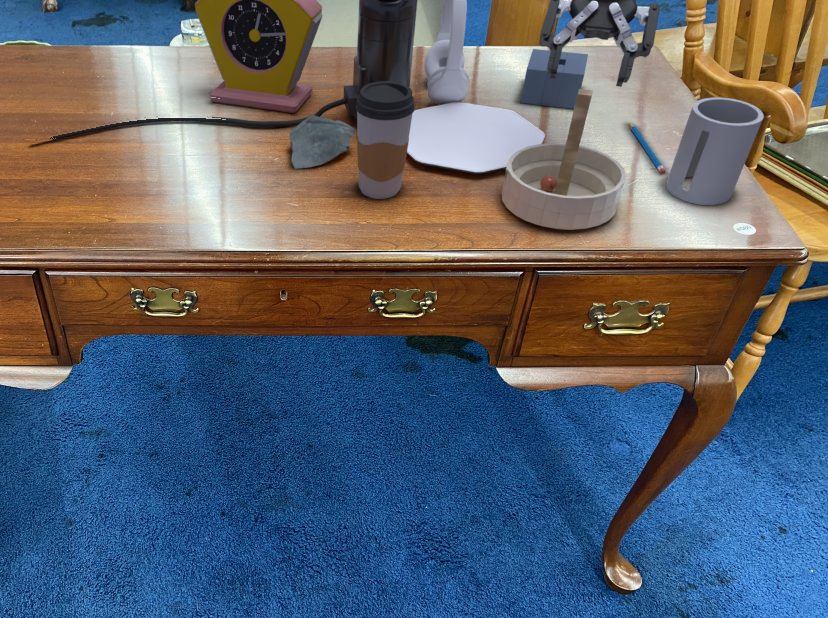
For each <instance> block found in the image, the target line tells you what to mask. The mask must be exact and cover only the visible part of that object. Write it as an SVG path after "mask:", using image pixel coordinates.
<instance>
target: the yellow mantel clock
mask: <svg viewBox="0 0 828 618" xmlns="http://www.w3.org/2000/svg"><path fill="white" fill-rule="evenodd" d="M194 8H195V10H194V11H195V13H196V16H197V18H198V20H199V23H200V26H201V29H202V31H203V33H204V36H205V38H206V41H207V43H208V45H209V48H210V51H211V53H212V56H213V58H214V60H215V64H216V66H217V68H218V71H219V74H220V77H221V79H222V80H223V81H222V82H221V83H219V85H218V86H217V87H216V88H214V89H213V91H212V92H211V93H209V98H210V101H211V102H212V103H216V104H217V103H218V104H225V105H232V106H239V107H247V108H252V109H253V108H255V109H261V110H268V111H273V112H274V111H275V112H283V113H290V114H296V113H297V111H298V110H299V109H300V108H301V107H302V105H303V104H304V103H305V102H306V101H307V99H308V98H310V96H311V95H312V93H313V86H312V85H310V84H305V83H299V81H300V79H301V77H302V74H303V72H304V68H305V66H306V63H307V60H308V57H309V54H310V52H311V50H312V46H313V44H314V41H315V38H316V35H317V33H318V30H319V27H320V24H321V22H322V19H323V16H324V15H323V12H322V11H323V6H322V4H321V3H320V2H319V1H318V0H197V1H196V2H194ZM210 96H211V97H216V98H211V97H210ZM218 98H220V99H218Z"/></svg>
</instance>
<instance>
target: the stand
mask: <svg viewBox="0 0 828 618" xmlns="http://www.w3.org/2000/svg"><path fill="white" fill-rule="evenodd" d="M550 52H551V50H550V49H549V50H548V49H538V48H537V49H535V48H532V51H531V54H530V57H529V61H528V63H527V67H526V69H525V75H524V81H523V85H522V86H523V87H522V92H521V97H520V104H529V105H535V106H536V105H537V106H545V107H546V106H547V107H556V108H564V109H571V110H574V107H575V103H576V99H577V95H578V90H579V89H582V86H583V82H584V78H585V74H586V73H585V72H586V68H587V62H588V57H589V54H588V53H581V52H580V53H579V52H570V51H562V53H561V57H560V61H559V66H558V70H557V74H556V78H555V79H550V77H551V74H547V65H548V61H549V57H550Z"/></svg>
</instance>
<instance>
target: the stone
mask: <svg viewBox="0 0 828 618" xmlns="http://www.w3.org/2000/svg"><path fill="white" fill-rule="evenodd" d="M309 116H310V117H309ZM309 116H307V117H308V118H307V119H305V120H304V121H302V122H301V123H300V124H299V125H296V126H294V127H293V128H292V129H291V131H290V132H289V135H288V136H289V141H290V149H291V163H292V164H291V165H292V167H293V169H295V170H299V169H308V168H312V167H313V168H314V167H316V166H321V165H324V164H327V163H328V162H330V161H333V159H335V158H336V157H338V156H339V155H341V154H343V153H346V152H348V151H349V150H350V147H352V146H351V139H352V138H353V137H354V136H355V134H356V128H354V127H352V126H351V125H349V124H348V123H345V122H343V121H341V120H339V119H335V120H334V119H332V118H328V117H323V116H320V117H317V116H315V115H314V114H312V115H309Z"/></svg>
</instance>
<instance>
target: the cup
mask: <svg viewBox="0 0 828 618" xmlns="http://www.w3.org/2000/svg"><path fill="white" fill-rule="evenodd" d="M764 117H765V116H764V113H763V111H762V110H761V109H760V108H758V107H757V106H755V105H753V104H752V103H749V102H747V101H743V100H739V99H736V98H729V97H717V96H716V97H705V98H701V99H699V100H697V101H695V102H694V103H693V104H692V107H691V110H690V113H689V116H688V118H687V121H686V124H685V127H684V129H683V133H682V135H681V139H680V141H679V145H678V148H677V149H676V154H675V156H674V159H673V162H672V164H671V168H670V170H669V174H668V177H667V180H666V182H665V188H666V190H667V192H669V194H671V195H672V196H673V197H675V198H677V199H679V200H681V201H683V202H686V203H690V204H695V205H701V206H715V205H716V206H717V205H721V204H724V203H727V202H728V201H730V199H731V198H732V196H733V193H734V191H735V189H736V186H737V183H738V181H739V178H740V176H741V174H742V171H743V169H744V166H745V164H746V162H747V160H748V157H749V155H750V152H751V149H752V147H753V144H754V142H755V139H756V137H757V135H758V132H759V130H760V128H761V125H762V123H763V120H764ZM686 178H692V179H691V182H690V185H689V188H686V187H684V186H683V185H684V182H685V180H686Z"/></svg>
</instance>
